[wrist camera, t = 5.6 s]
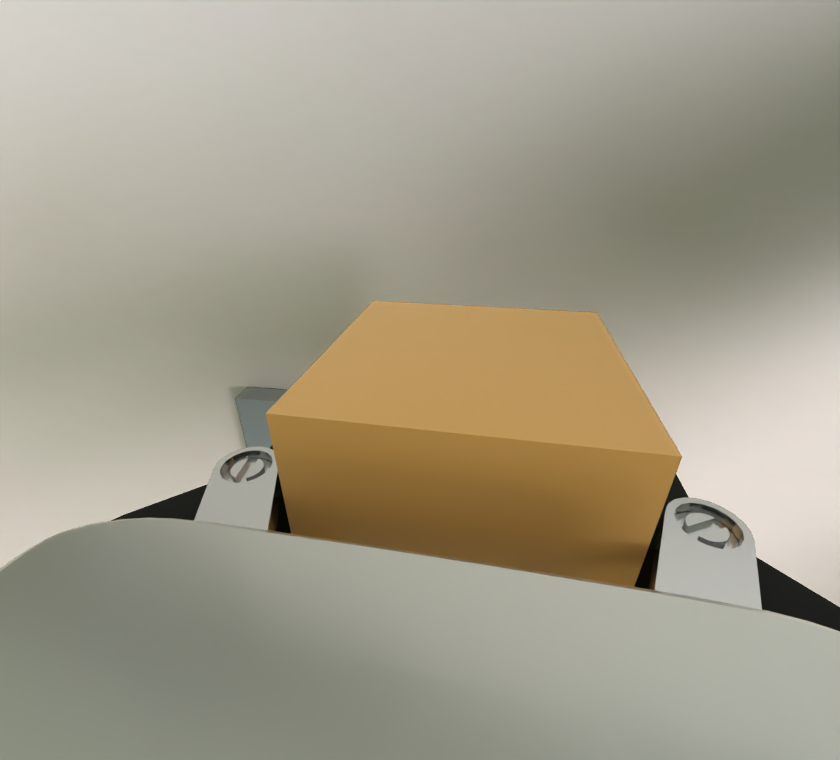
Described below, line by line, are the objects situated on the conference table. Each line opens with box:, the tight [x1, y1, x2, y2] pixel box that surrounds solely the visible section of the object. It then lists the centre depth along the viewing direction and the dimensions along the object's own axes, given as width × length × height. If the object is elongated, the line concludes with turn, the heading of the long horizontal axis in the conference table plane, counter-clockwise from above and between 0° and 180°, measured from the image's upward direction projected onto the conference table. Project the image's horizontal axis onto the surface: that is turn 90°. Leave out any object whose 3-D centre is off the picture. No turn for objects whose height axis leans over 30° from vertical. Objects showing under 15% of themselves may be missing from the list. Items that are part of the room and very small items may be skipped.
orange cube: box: [266, 301, 682, 587], centre depth 10 cm, size 6×6×6 cm
